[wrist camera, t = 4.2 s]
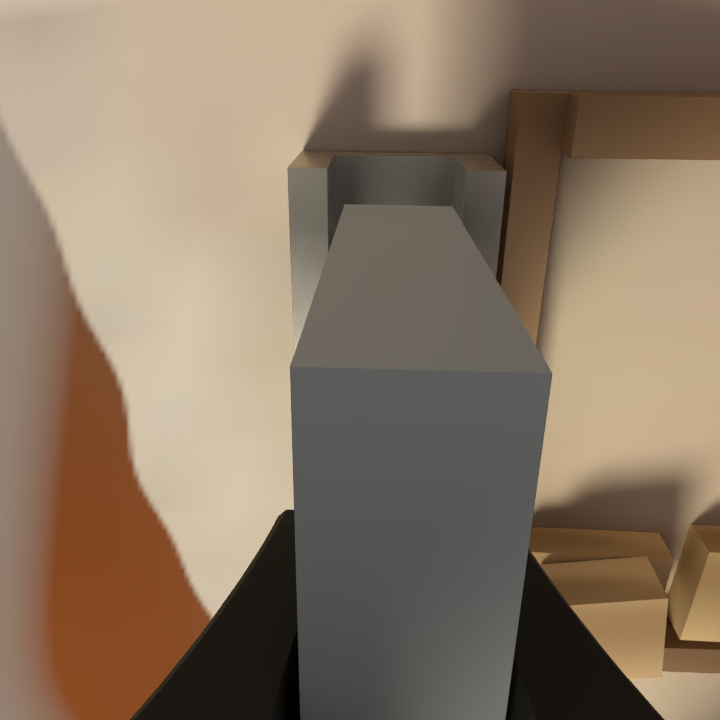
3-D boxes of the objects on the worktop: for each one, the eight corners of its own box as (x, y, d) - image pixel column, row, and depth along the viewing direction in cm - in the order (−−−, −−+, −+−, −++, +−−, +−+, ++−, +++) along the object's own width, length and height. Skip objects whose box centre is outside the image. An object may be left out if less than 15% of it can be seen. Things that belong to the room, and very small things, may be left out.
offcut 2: (642, 631, 20) (661, 676, 19) (542, 638, 20) (554, 683, 19) (647, 556, 19) (668, 598, 17) (540, 564, 19) (553, 606, 18)
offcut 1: (631, 605, 22) (649, 645, 20) (504, 599, 22) (512, 638, 20) (653, 523, 20) (673, 559, 19) (517, 516, 20) (527, 552, 19)
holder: (459, 472, 19) (470, 531, 17) (309, 468, 19) (299, 525, 17) (488, 153, 16) (507, 170, 13) (302, 150, 16) (287, 167, 13)
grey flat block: (452, 206, 11) (552, 373, 5) (427, 587, 14) (464, 1014, 8) (344, 204, 11) (290, 367, 5) (342, 584, 14) (308, 1006, 8)
